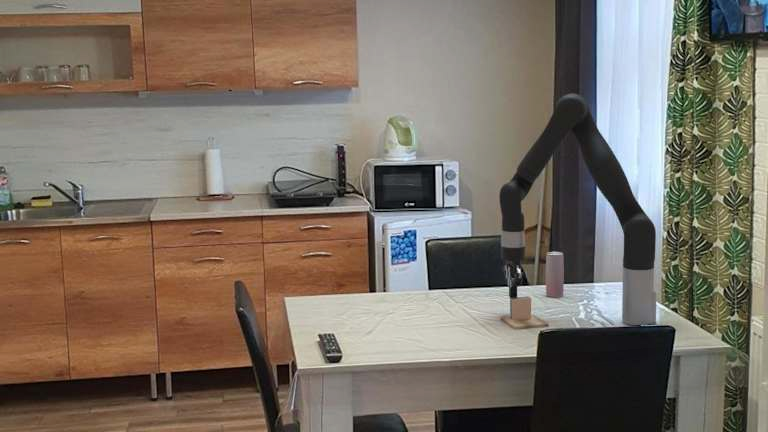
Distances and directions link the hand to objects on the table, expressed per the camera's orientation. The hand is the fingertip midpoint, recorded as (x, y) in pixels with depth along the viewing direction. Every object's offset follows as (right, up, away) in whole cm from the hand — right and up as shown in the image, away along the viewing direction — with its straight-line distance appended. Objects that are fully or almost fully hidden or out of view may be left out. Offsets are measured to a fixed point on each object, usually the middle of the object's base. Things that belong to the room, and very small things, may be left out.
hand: (513, 298), depth 301 cm
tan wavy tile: (+2, -7, -8) cm, 11 cm away
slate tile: (+2, -6, -5) cm, 8 cm away
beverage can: (+18, -2, +27) cm, 33 cm away
